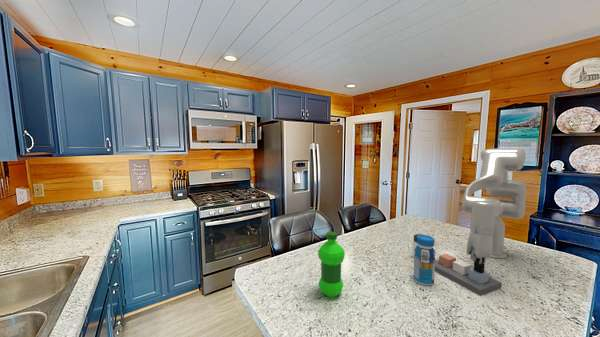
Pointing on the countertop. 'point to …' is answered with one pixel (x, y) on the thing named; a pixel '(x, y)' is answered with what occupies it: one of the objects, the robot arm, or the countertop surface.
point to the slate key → (478, 276)
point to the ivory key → (461, 267)
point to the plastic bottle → (331, 266)
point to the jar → (414, 244)
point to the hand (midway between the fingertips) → (478, 271)
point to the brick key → (446, 260)
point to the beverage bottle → (424, 260)
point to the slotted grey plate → (468, 280)
